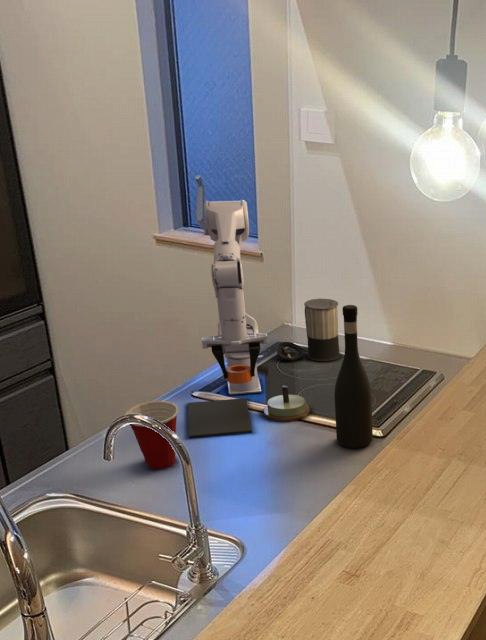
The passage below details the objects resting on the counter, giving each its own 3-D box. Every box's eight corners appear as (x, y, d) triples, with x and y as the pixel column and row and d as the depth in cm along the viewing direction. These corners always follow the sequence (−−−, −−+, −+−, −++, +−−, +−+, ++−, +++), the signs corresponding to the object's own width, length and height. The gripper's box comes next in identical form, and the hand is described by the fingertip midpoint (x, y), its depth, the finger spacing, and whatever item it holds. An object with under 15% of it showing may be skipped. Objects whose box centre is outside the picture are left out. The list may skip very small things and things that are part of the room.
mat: (188, 405, 208) (188, 402, 208) (246, 400, 211) (246, 398, 210) (189, 438, 192) (188, 435, 191) (252, 432, 194) (251, 430, 194)
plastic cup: (123, 470, 178) (112, 416, 172) (154, 449, 187) (145, 397, 180) (166, 479, 175) (157, 424, 168) (196, 457, 183) (188, 405, 177)
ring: (226, 376, 199) (225, 365, 198) (250, 374, 200) (249, 363, 199) (228, 384, 194) (226, 373, 193) (252, 382, 195) (251, 371, 194)
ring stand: (262, 405, 208) (259, 379, 204) (307, 402, 210) (305, 376, 206) (265, 423, 199) (263, 396, 195) (313, 419, 201) (311, 392, 197)
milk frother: (347, 356, 238) (345, 302, 230) (304, 370, 228) (300, 315, 220) (314, 345, 246) (310, 292, 238) (270, 358, 236) (265, 304, 228)
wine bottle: (333, 436, 192) (326, 302, 176) (367, 432, 194) (363, 299, 178) (341, 451, 186) (335, 313, 170) (376, 446, 188) (373, 310, 172)
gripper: (199, 324, 185) (207, 384, 192) (266, 320, 187) (272, 379, 195) (198, 315, 190) (206, 374, 198) (263, 311, 193) (269, 369, 201)
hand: (238, 376), depth 197 cm, fingers closed on ring, 5 cm apart
